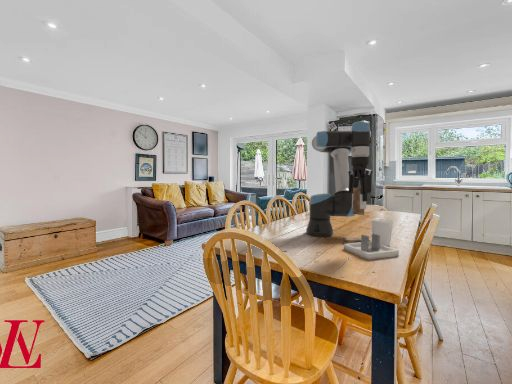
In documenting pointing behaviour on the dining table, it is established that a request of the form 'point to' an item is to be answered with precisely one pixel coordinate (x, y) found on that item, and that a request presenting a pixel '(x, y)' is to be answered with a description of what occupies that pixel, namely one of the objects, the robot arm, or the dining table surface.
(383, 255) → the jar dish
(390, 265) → the dining table surface
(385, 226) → the candle holder
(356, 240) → the wick
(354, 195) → the brown rectangular block
